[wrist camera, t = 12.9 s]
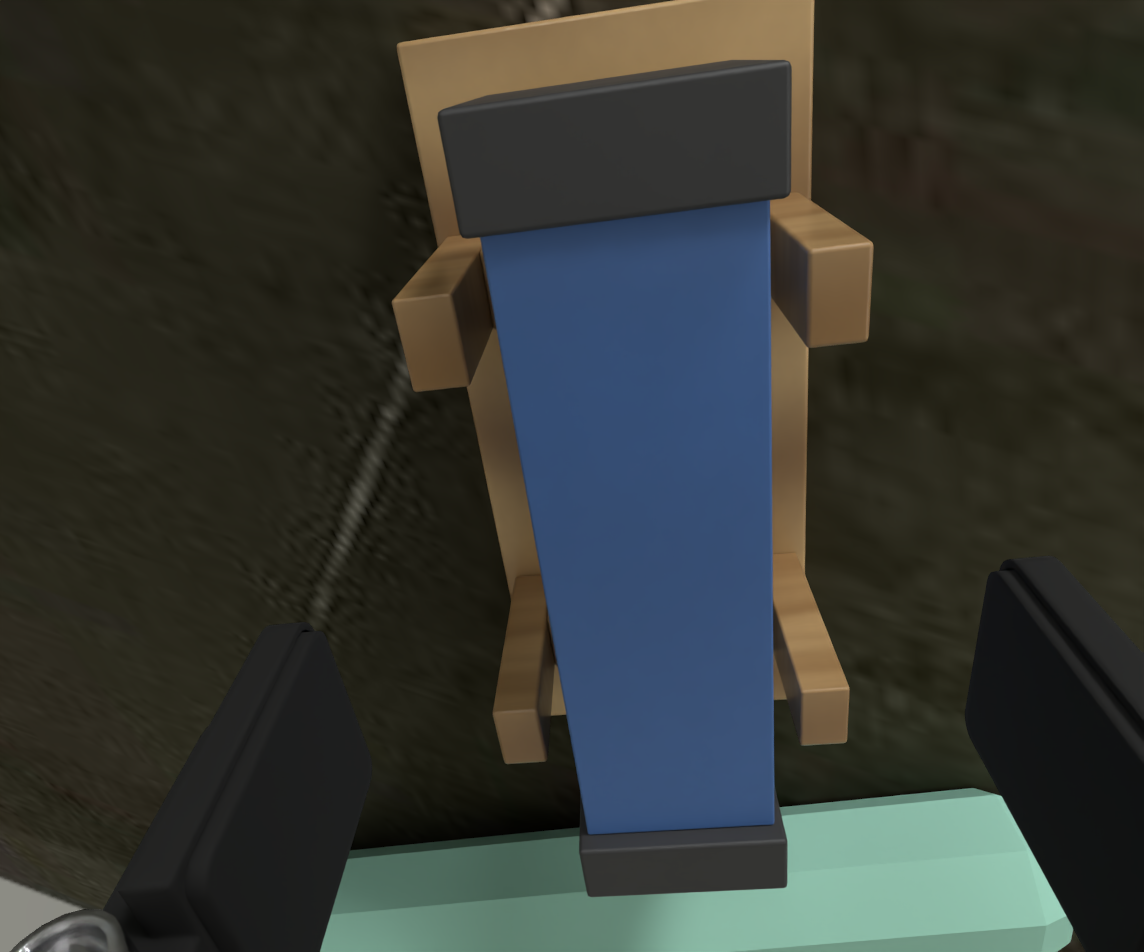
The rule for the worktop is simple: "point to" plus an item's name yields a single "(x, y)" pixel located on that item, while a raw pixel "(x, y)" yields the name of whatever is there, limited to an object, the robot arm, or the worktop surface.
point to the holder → (798, 318)
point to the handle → (646, 441)
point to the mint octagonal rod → (723, 918)
